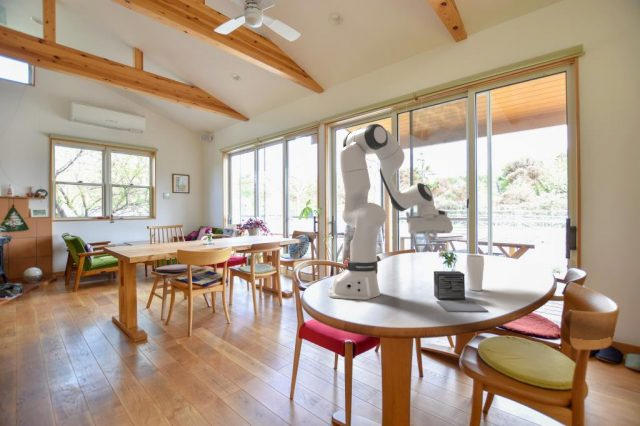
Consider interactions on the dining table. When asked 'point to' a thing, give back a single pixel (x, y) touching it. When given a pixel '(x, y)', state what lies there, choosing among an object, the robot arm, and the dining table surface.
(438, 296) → the small box
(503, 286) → the dining table surface
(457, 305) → the mat
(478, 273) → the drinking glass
